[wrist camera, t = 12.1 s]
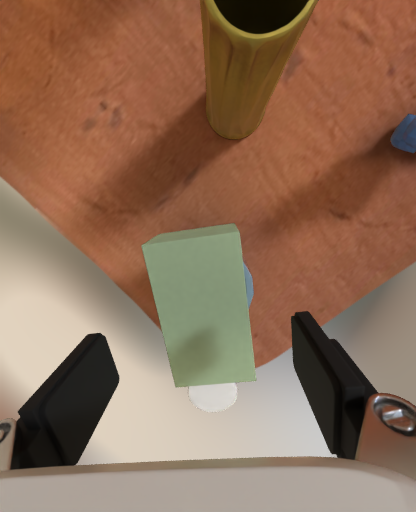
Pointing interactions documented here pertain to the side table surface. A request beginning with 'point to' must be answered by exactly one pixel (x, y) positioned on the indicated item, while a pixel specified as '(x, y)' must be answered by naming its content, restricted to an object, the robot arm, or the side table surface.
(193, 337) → the pale sage-green block
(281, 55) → the vase
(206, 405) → the pill bottle
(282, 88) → the side table surface
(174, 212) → the side table surface
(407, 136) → the grapes
